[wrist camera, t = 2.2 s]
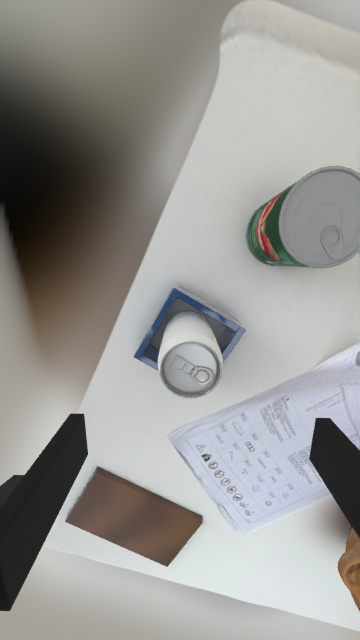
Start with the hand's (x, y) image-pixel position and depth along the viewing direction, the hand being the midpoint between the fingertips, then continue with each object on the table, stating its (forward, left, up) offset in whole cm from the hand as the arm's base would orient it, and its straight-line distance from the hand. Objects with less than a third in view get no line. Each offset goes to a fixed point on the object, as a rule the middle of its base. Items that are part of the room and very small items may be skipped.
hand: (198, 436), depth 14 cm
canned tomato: (+3, +17, -21) cm, 27 cm away
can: (0, 0, -21) cm, 21 cm away
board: (+9, -33, -21) cm, 40 cm away
